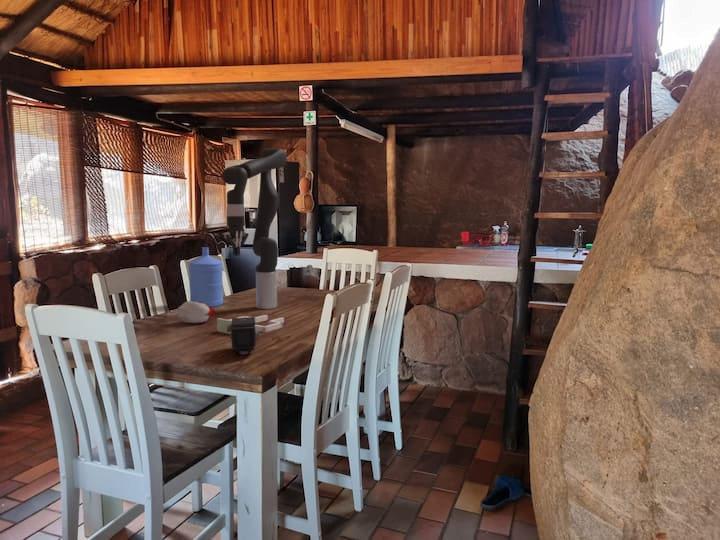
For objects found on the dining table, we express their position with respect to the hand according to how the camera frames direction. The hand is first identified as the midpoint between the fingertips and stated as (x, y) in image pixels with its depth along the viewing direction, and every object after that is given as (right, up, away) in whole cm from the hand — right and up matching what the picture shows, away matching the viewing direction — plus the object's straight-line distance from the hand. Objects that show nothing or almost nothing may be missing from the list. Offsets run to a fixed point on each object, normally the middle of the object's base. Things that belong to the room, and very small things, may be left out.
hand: (236, 255), depth 233 cm
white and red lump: (-14, -28, -7) cm, 32 cm away
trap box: (+10, -29, -14) cm, 34 cm away
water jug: (-22, -23, +32) cm, 45 cm away
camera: (+14, -34, -50) cm, 62 cm away
